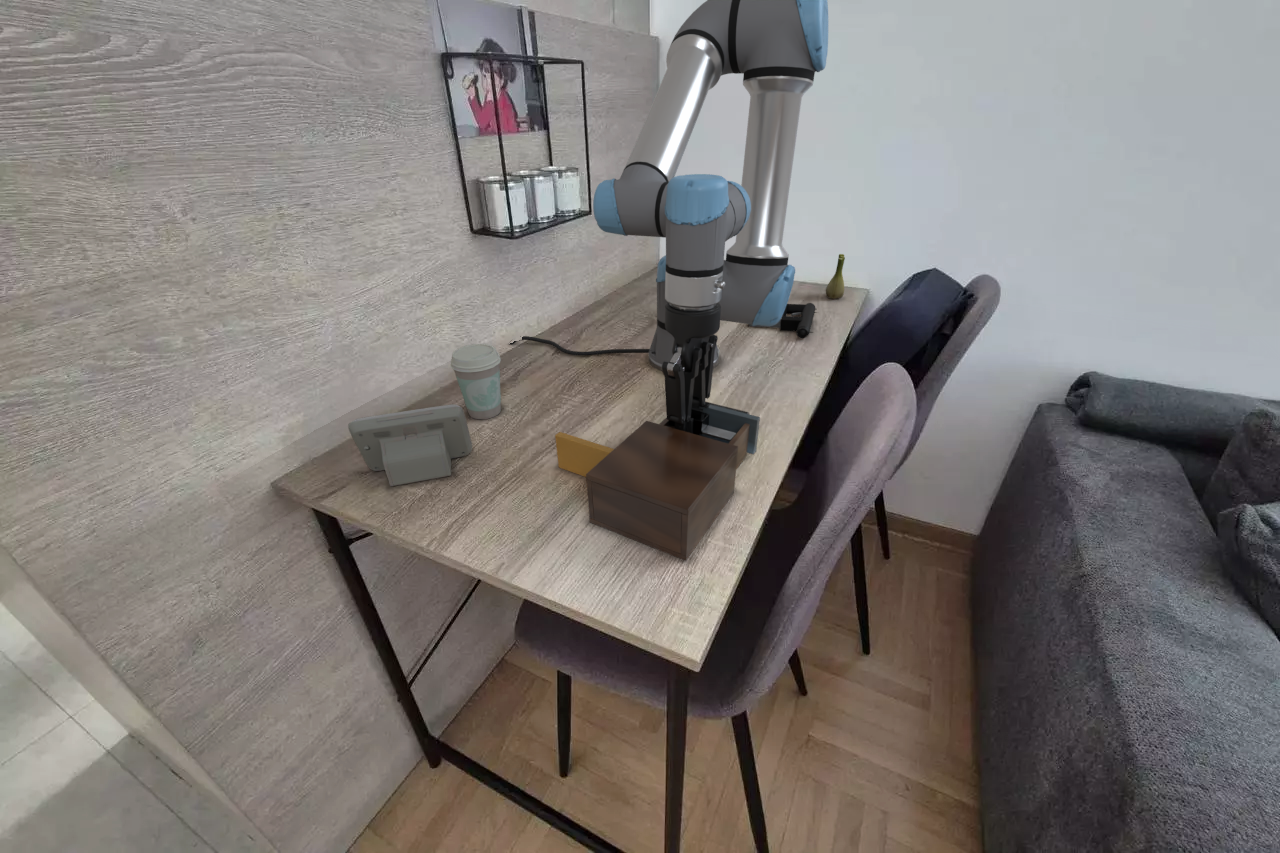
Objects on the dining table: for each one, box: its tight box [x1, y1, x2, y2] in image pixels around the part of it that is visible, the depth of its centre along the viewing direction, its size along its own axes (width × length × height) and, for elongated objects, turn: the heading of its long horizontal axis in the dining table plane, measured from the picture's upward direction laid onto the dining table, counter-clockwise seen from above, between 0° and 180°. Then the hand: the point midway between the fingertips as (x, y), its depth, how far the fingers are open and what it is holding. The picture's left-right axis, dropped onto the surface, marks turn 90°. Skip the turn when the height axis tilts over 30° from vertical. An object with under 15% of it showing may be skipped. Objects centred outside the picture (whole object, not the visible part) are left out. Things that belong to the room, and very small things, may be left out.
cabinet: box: [585, 420, 738, 561], centre depth 74 cm, size 16×15×8 cm
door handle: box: [748, 302, 818, 340], centre depth 136 cm, size 3×20×16 cm
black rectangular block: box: [669, 409, 736, 441], centre depth 81 cm, size 10×3×2 cm, turn 59°
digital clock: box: [347, 403, 473, 487], centre depth 83 cm, size 16×9×11 cm, turn 96°
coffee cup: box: [450, 343, 502, 420], centre depth 98 cm, size 8×9×12 cm
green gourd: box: [825, 253, 846, 300], centre depth 151 cm, size 6×5×12 cm
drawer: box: [659, 402, 761, 470], centre depth 84 cm, size 19×13×6 cm
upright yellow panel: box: [554, 431, 615, 478], centre depth 82 cm, size 10×1×6 cm, turn 60°
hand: (687, 448), depth 85 cm, fingers closed on black rectangular block, 3 cm apart
